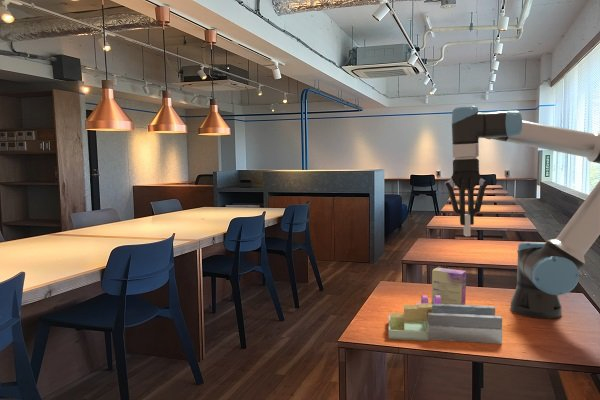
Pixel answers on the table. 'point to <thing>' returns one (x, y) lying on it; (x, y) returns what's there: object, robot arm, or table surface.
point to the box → (449, 285)
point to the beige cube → (424, 311)
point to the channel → (464, 323)
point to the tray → (411, 331)
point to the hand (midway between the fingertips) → (467, 235)
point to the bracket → (436, 299)
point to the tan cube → (411, 314)
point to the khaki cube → (396, 321)
